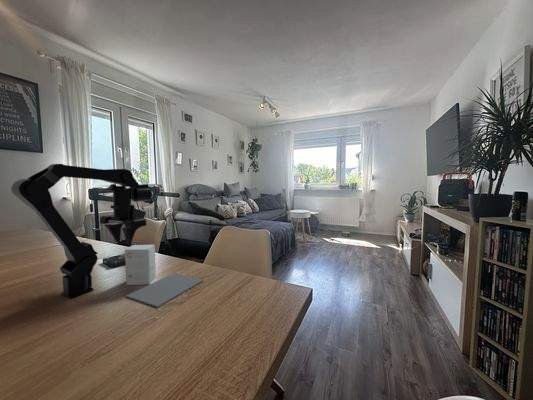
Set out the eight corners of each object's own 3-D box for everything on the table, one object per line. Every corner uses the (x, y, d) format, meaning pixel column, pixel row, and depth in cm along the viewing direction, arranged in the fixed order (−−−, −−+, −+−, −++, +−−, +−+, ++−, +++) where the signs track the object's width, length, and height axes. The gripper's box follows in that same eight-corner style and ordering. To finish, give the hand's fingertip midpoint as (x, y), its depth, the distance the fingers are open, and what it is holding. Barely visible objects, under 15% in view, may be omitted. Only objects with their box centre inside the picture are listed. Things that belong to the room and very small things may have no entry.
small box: (156, 277, 89) (155, 244, 88) (149, 284, 83) (148, 249, 82) (134, 277, 88) (132, 244, 87) (125, 285, 82) (124, 249, 81)
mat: (157, 307, 68) (157, 306, 68) (126, 297, 74) (126, 295, 74) (202, 281, 86) (202, 280, 86) (174, 274, 92) (174, 273, 92)
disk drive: (112, 270, 97) (147, 260, 109) (111, 263, 96) (147, 254, 108) (102, 264, 103) (136, 255, 115) (101, 258, 102) (136, 250, 114)
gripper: (158, 202, 90) (158, 241, 92) (126, 199, 98) (127, 236, 99) (131, 204, 80) (132, 248, 82) (98, 201, 88) (99, 242, 89)
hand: (123, 243), depth 88 cm, fingers open, 6 cm apart
